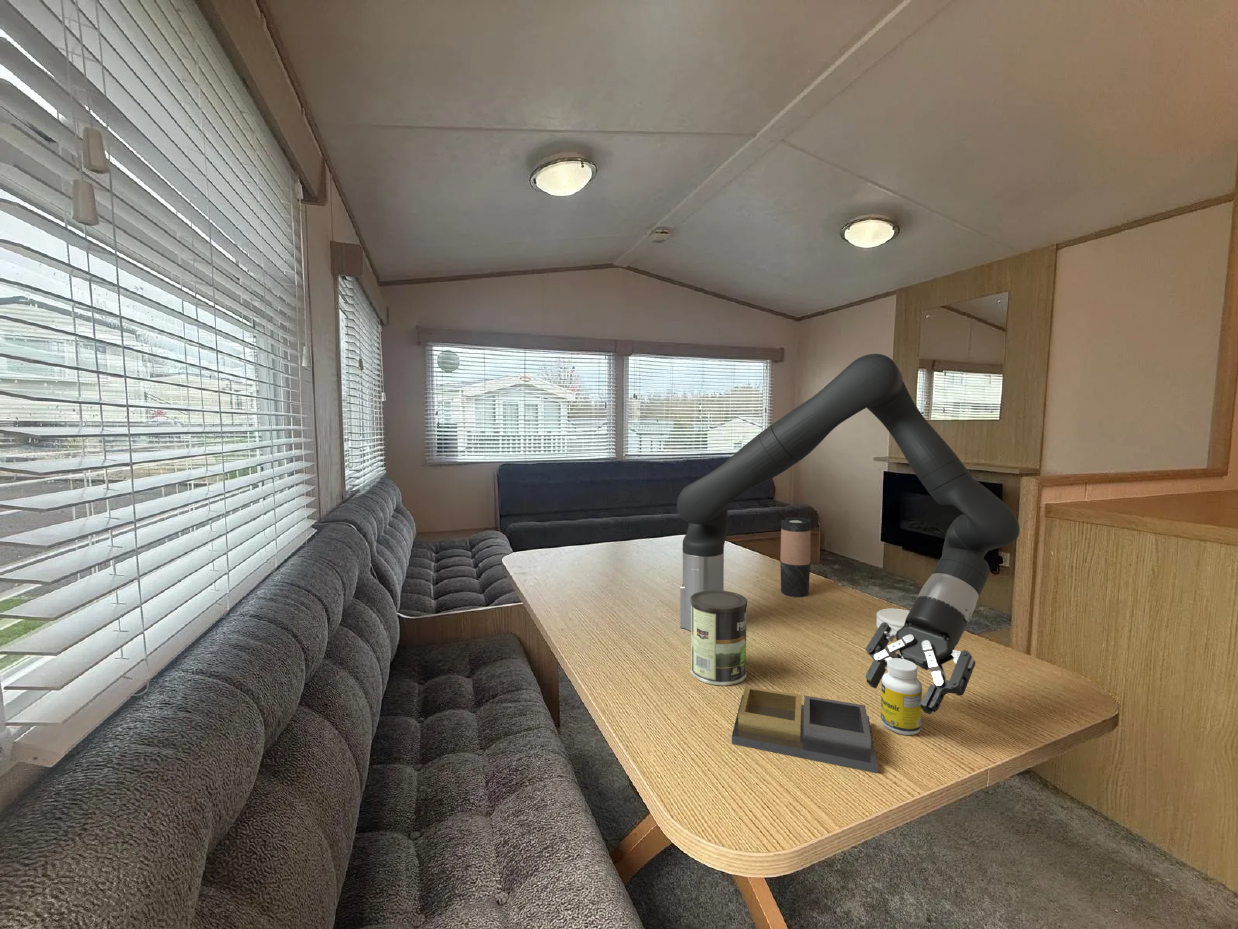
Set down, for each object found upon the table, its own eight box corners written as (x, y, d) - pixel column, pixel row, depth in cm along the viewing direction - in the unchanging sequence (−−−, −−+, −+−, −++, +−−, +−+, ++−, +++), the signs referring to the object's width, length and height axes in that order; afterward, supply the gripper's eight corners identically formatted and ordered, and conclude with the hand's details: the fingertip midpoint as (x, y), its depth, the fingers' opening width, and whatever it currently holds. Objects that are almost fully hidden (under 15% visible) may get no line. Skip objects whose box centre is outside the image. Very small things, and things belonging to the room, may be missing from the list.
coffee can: (749, 664, 100) (750, 592, 98) (742, 690, 90) (743, 611, 89) (696, 656, 103) (696, 587, 102) (684, 680, 94) (684, 604, 92)
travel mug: (813, 597, 137) (815, 522, 136) (784, 597, 137) (786, 522, 136) (804, 588, 145) (805, 517, 143) (776, 588, 145) (777, 517, 143)
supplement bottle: (873, 717, 81) (874, 656, 81) (905, 715, 82) (907, 655, 81) (894, 737, 76) (896, 673, 75) (929, 735, 77) (931, 671, 76)
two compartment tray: (731, 743, 75) (731, 719, 75) (742, 701, 86) (742, 680, 86) (877, 773, 68) (878, 746, 68) (868, 723, 80) (868, 700, 79)
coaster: (938, 638, 111) (938, 622, 111) (896, 641, 110) (896, 625, 109) (905, 621, 121) (906, 606, 121) (866, 624, 119) (867, 609, 119)
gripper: (890, 584, 87) (844, 666, 83) (983, 609, 75) (935, 708, 70) (907, 608, 91) (864, 689, 86) (1000, 637, 78) (955, 733, 73)
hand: (896, 697), depth 78 cm, fingers open, 8 cm apart
